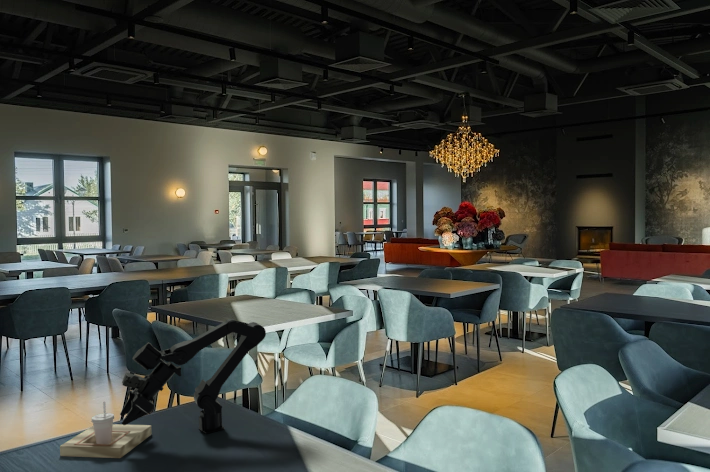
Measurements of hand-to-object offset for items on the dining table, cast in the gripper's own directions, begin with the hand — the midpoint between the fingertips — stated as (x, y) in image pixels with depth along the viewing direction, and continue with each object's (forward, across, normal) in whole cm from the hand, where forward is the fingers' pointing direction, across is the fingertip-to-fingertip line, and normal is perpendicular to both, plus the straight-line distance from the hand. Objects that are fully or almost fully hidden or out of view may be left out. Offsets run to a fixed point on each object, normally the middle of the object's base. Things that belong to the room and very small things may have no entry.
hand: (122, 419), depth 181 cm
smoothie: (+9, 0, +2) cm, 10 cm away
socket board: (+8, -2, +2) cm, 9 cm away
